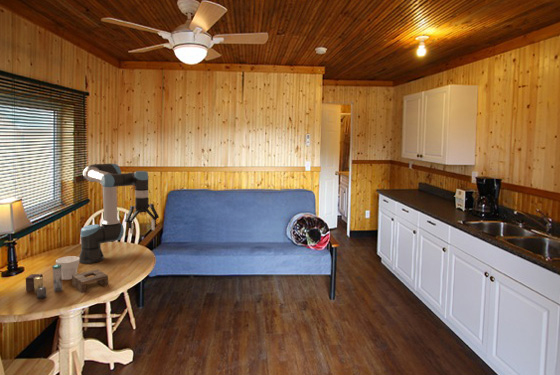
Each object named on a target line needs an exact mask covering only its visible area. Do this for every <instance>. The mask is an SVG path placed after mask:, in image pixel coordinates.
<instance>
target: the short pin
mask: <svg viewBox="0 0 560 375" xmlns="http://www.w3.org/2000/svg"><path fill="white" fill-rule="evenodd" d="M36 298H37V300H44V299H46V298H47V287H46V286H43V287H40V288H37V294H36Z"/></svg>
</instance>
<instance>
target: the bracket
mask: <svg viewBox="0 0 560 375" xmlns="http://www.w3.org/2000/svg"><path fill="white" fill-rule="evenodd" d="M95 282H97V283H98V284H100V285H102V286H103V285H104V286H103V287H108V286H109V275H108V274H106V273H105V272H103V271H101V270H100V269H98V268H95V269H92V270H88V271H84V272H79V273H77V274H75V275H72V279H71V283H72V284H71V286H72V287H74V288H75V289H76V290H78V291H79V292H81V293H86V292H87V284H90V283H95ZM107 285H108V286H107Z"/></svg>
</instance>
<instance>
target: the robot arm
mask: <svg viewBox="0 0 560 375" xmlns="http://www.w3.org/2000/svg"><path fill="white" fill-rule="evenodd" d="M82 176H83V178H84V179H85V180H86V182H90V183H94V182H95V183H99V184H100V185H101V186H102V201H103V202H102V203H103V204H102V205H103V221H102V222H101V225H100V224H90V225H85V226H84V227H81V229H80V253H79V255H78V257H79V258H80V259H79V264H80V263H81V264H95V263H99V262H102V261H104V260H105V257H104V253H103V251H102V248H101V244H104V243H109V242H117V241H121V240H122V238H123V236H124V230H125V229H124V225H123V224H122V223H121V221H120V220H119V218H118V198H117V197H118V196H117V187H127V186H128V187H131V186H134V196H135V198H134V201H135V202H134V203H135V205H134V206H133V205H130V206H129V210H128V213H127V215H126V217H125V219H124V222H125V223H127V224H128V225H127V227H128V229H129V233H130V234H131V235H134V223H133V222H134V220H135V218H136V217H137V216H138V214H141V213H147V214H148V215H149V217H150V218H151V219H150V220H151V223H150V224H151V231H155V230H156V227H155V226H156V224H157V219H159V218H160V216H159V214H158V212H157V211H156V209H155V204H153V203H149V200H150V199H149V172H148V171H146V170H136V171H135V172H127V173H122V170H121V167H120V166H119V164H116V163H93V164H90V165H88V166H86V167H85V168H84V170H83V171H82ZM149 208H150V210H151V211H152V212H151V211H150V210H149Z"/></svg>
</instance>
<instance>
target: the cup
mask: <svg viewBox="0 0 560 375" xmlns="http://www.w3.org/2000/svg"><path fill="white" fill-rule="evenodd" d="M79 259H80V258H79V256H75V255H72V256H71V255H69V256H68V255H67V256H62V257H59V258H57V259H56V260H55V265H58V264H59V265H61V274H62V281H68V280H72V275H75V274H78V267H79V265H80V262H79Z"/></svg>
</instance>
